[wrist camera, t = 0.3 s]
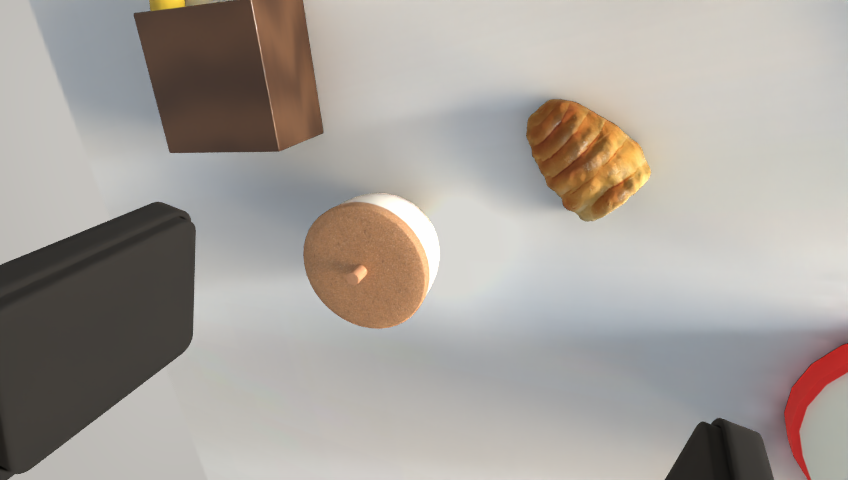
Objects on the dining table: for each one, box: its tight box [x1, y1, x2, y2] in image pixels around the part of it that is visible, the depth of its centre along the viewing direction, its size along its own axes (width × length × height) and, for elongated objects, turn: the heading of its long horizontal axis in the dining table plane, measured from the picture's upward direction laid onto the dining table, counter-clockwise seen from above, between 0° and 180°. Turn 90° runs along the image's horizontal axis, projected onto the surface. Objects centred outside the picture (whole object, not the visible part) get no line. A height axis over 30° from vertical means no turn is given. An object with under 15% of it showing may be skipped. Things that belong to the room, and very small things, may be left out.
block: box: [134, 0, 323, 153], centre depth 46 cm, size 11×11×7 cm
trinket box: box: [303, 193, 440, 328], centre depth 47 cm, size 11×11×9 cm
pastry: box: [526, 99, 651, 222], centre depth 41 cm, size 9×7×4 cm
